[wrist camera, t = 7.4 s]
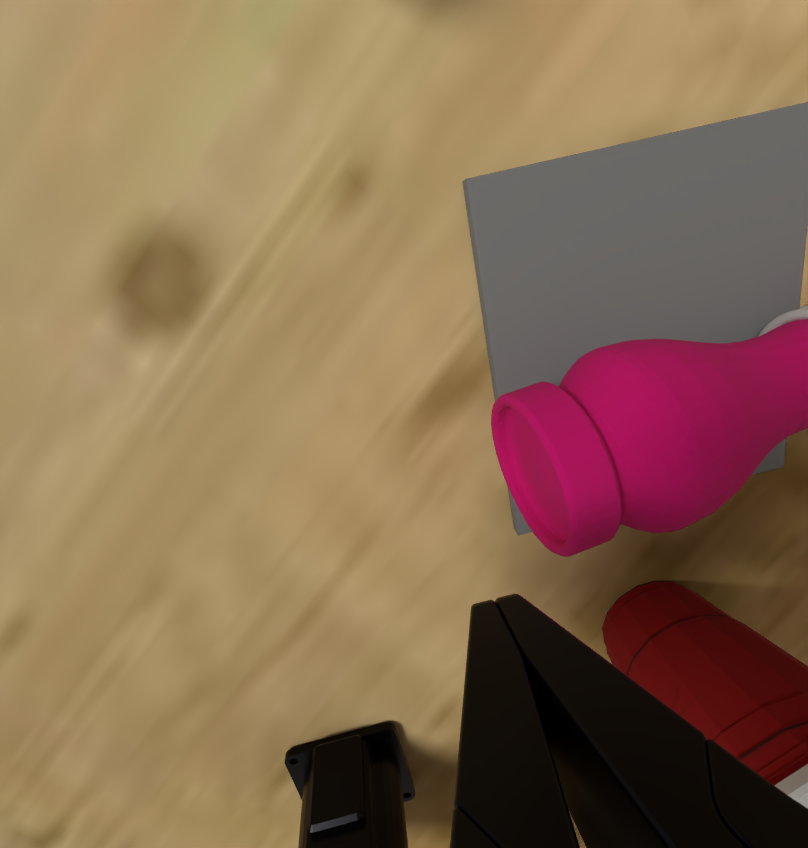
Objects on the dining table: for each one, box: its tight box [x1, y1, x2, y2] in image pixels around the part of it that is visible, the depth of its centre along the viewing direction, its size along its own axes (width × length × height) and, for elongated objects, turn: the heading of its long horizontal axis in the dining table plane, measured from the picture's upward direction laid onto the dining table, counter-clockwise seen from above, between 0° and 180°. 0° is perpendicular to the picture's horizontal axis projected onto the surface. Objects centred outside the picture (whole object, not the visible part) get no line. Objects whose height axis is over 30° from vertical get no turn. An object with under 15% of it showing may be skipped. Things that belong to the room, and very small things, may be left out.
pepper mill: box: [491, 305, 808, 557], centre depth 18 cm, size 7×7×20 cm
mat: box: [463, 102, 808, 535], centre depth 20 cm, size 16×14×1 cm
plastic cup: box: [602, 581, 808, 808], centre depth 21 cm, size 11×11×12 cm
